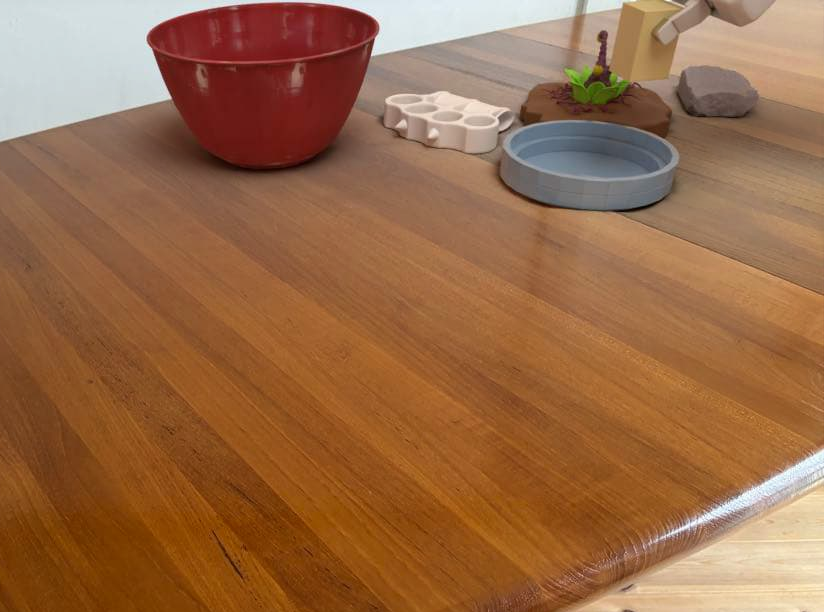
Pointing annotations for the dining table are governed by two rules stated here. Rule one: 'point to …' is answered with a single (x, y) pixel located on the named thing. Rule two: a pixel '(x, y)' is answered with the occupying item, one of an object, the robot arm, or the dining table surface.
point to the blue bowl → (588, 165)
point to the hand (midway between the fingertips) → (642, 32)
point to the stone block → (715, 92)
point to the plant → (598, 99)
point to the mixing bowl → (265, 77)
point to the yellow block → (643, 42)
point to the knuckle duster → (447, 121)
